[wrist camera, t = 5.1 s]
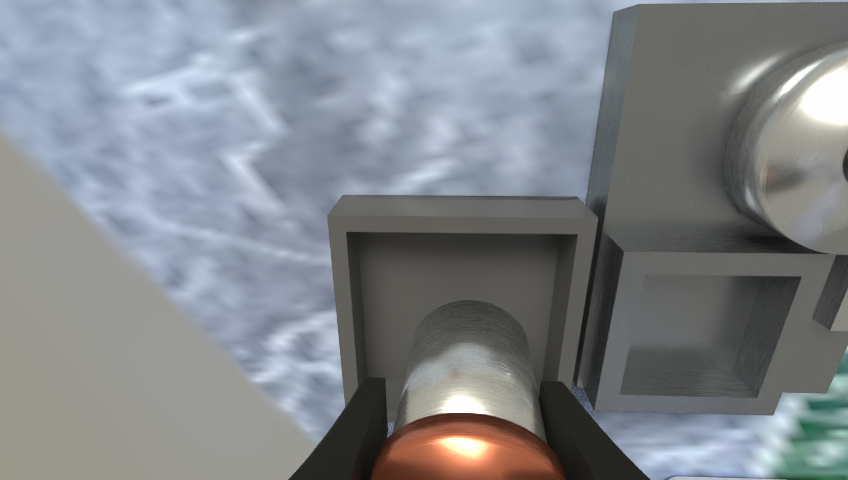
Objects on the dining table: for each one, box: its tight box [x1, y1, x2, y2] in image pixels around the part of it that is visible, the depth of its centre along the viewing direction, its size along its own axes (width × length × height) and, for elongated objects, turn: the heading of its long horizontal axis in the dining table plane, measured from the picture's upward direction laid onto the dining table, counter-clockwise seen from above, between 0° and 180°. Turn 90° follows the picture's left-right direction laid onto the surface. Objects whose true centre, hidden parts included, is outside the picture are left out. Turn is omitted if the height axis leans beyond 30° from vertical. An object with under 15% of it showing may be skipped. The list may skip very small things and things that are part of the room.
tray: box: [327, 195, 598, 422], centre depth 17 cm, size 9×9×2 cm
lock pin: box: [369, 300, 568, 480], centre depth 12 cm, size 5×5×6 cm
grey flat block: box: [573, 2, 848, 415], centre depth 14 cm, size 14×10×5 cm
